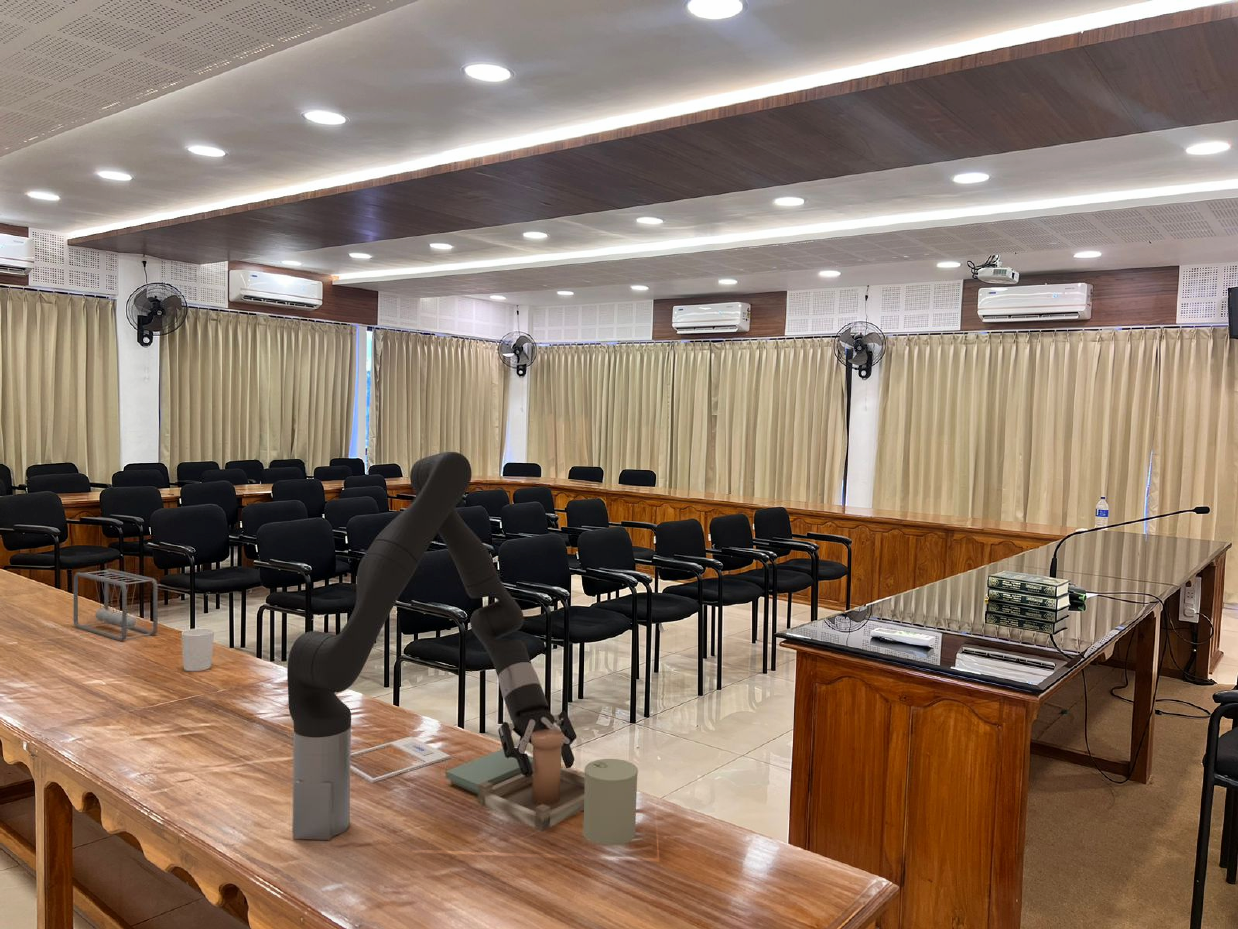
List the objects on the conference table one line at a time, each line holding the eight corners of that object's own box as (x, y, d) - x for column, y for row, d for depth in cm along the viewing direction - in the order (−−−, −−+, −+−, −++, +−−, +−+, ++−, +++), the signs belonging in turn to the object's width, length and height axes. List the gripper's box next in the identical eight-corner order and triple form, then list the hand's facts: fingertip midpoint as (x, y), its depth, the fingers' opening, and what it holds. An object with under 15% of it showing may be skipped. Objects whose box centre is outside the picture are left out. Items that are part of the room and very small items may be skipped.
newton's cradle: (158, 636, 266) (158, 579, 265) (123, 643, 257) (123, 583, 256) (107, 621, 282) (107, 567, 281) (72, 627, 273) (72, 571, 272)
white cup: (181, 665, 236) (182, 629, 236) (213, 662, 239) (213, 627, 239) (180, 673, 229) (180, 636, 228) (213, 670, 232) (213, 634, 232)
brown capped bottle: (560, 806, 156) (562, 741, 155) (527, 805, 156) (529, 740, 156) (563, 792, 162) (565, 729, 161) (531, 791, 162) (533, 728, 162)
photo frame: (450, 754, 178) (372, 779, 165) (450, 760, 178) (371, 785, 165) (411, 735, 188) (334, 757, 175) (410, 740, 188) (334, 762, 175)
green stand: (537, 774, 171) (538, 759, 171) (478, 800, 159) (478, 784, 158) (505, 762, 177) (505, 747, 177) (445, 786, 164) (445, 771, 164)
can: (606, 817, 154) (608, 751, 153) (647, 834, 148) (649, 766, 147) (570, 836, 146) (572, 766, 146) (612, 854, 141) (614, 782, 140)
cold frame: (611, 797, 162) (612, 776, 162) (542, 833, 147) (543, 810, 147) (548, 773, 172) (549, 754, 171) (477, 805, 156) (478, 784, 156)
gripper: (495, 687, 160) (523, 770, 151) (561, 676, 168) (591, 754, 159) (482, 707, 165) (508, 788, 156) (547, 696, 173) (575, 772, 164)
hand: (550, 771), depth 158 cm, fingers open, 8 cm apart
